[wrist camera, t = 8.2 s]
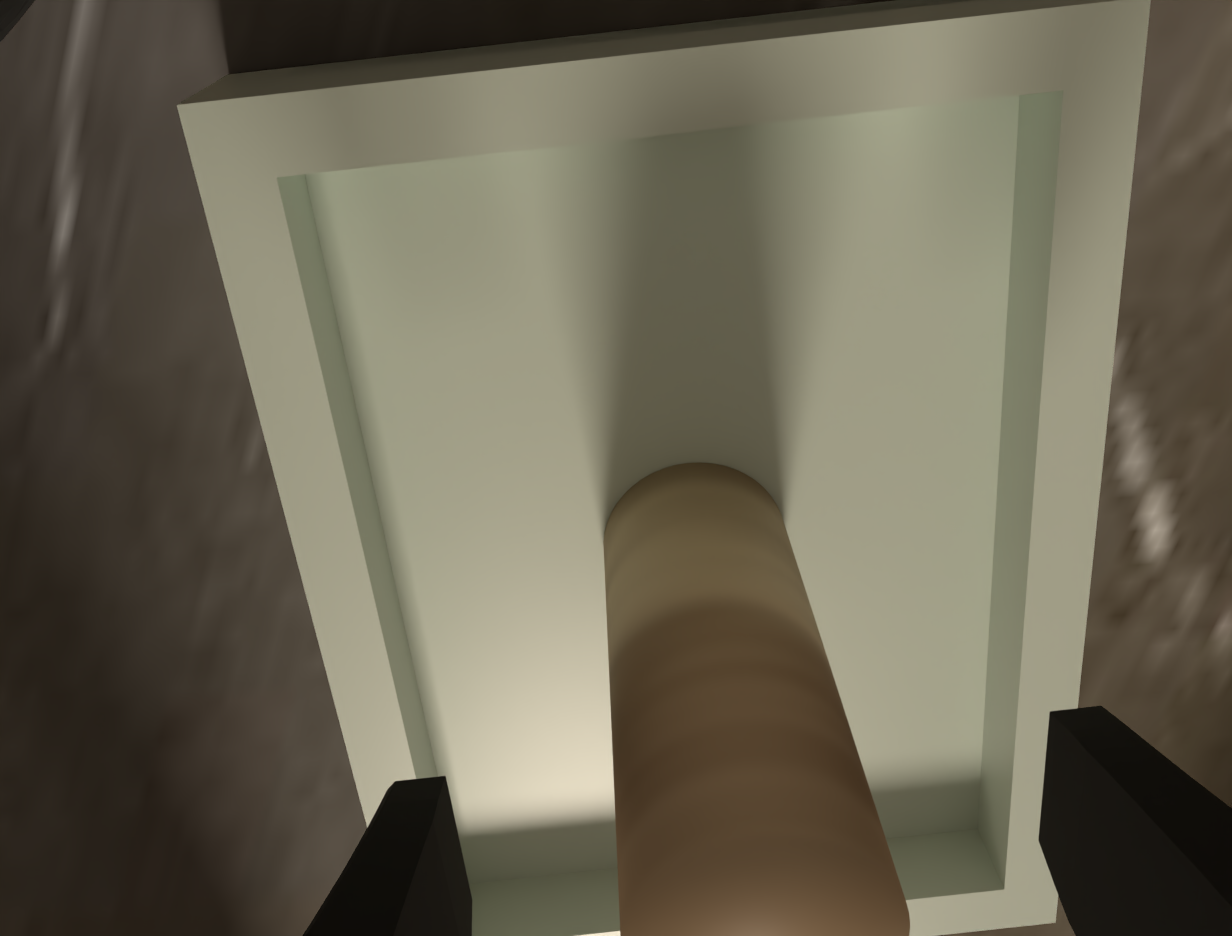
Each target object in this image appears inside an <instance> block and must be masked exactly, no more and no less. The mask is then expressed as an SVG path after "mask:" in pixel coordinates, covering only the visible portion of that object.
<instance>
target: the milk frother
mask: <svg viewBox="0 0 1232 936" xmlns="http://www.w3.org/2000/svg"><path fill="white" fill-rule="evenodd" d="M34 1H35V0H0V42H1V41H2V40H3V38H4V37H5V36H6V35H7V34H8V33H9V31H10V30H11V29H12V28H13V27H14V25H15V24H16V23H17V22H18V21H19V20H20V18H21V17H22V16H23V15H24V13H25V12H26V11H27V10H28V8H29V7H30V6H31V5H32V3H33V2H34Z"/></svg>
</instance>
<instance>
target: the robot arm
mask: <svg viewBox="0 0 1232 936" xmlns="http://www.w3.org/2000/svg"><path fill="white" fill-rule="evenodd" d="M1038 841H1039V843H1040V846H1041V849H1042V852H1043V854H1044V857H1045V860H1046V863H1047V866H1048V868H1049V871H1050V874H1051V877H1052V879H1053V882H1054V885H1055V888H1056V890H1057V893H1058V895H1059V898H1060V900H1061V903H1062V905H1063V908H1064V911H1065V913H1066V916H1067V918H1068V921H1069V923H1070V925H1071V927H1072V929H1073V931H1074V933H1075V935H1076V936H1232V808H1230V807H1229V806H1228V805H1226V804H1225V803H1224V802H1223V801H1221V800H1220V799H1219V798H1217V797H1216V796H1215V795H1213V794H1212V793H1211V792H1209V791H1208V790H1207V789H1206V788H1204V787H1203V786H1202V785H1200V784H1199V783H1198V782H1197V781H1195V780H1194V779H1193V778H1191V777H1190V776H1189V775H1188V774H1186V773H1185V772H1184V771H1183V770H1181V769H1180V768H1179V767H1177V766H1176V765H1175V764H1174V763H1172V762H1171V761H1170V760H1169V759H1167V758H1166V757H1165V756H1164V755H1162V754H1161V753H1160V752H1159V751H1157V750H1156V749H1155V748H1154V747H1152V746H1151V745H1150V744H1149V743H1147V742H1146V741H1145V740H1144V739H1142V738H1141V737H1140V736H1139V735H1137V734H1136V733H1135V732H1134V731H1133V730H1131V729H1130V728H1129V727H1128V726H1126V725H1125V724H1124V723H1123V722H1121V721H1120V720H1119V719H1117V718H1116V717H1115V716H1114V715H1112V714H1111V713H1110V712H1109V711H1107V710H1106V709H1105V708H1103V707H1102V706H1095V707H1086V708H1076V709H1067V710H1057V711H1050V714H1049V725H1048V736H1047V748H1046V759H1045V771H1044V782H1043V793H1042V805H1041V816H1040V828H1039V839H1038ZM303 936H472V896H471V891H470V887H469V882H468V877H467V873H466V868H465V863H464V859H463V854H462V849H461V845H460V840H459V836H458V831H457V826H456V822H455V817H454V812H453V808H452V803H451V798H450V794H449V789H448V785H447V780H446V776H439V777H429V778H420V779H411V780H401V781H395V782H394V783H393V784H392V785H391V786H390V787H389V788H388V789H387V791H386V793H385V795H384V797H383V799H382V801H381V803H380V805H379V807H378V809H377V811H376V812H375V814H374V816H373V818H372V820H371V822H370V824H369V826H368V827H367V829H366V831H365V833H364V835H363V837H362V838H361V840H360V842H359V844H358V846H357V847H356V849H355V851H354V853H353V854H352V856H351V858H350V860H349V861H348V863H347V865H346V867H345V868H344V870H343V872H342V873H341V875H340V877H339V878H338V880H337V882H336V883H335V885H334V886H333V888H332V890H331V891H330V893H329V895H328V896H327V898H326V899H325V901H324V903H323V904H322V906H321V908H320V909H319V911H318V912H317V914H316V916H315V917H314V919H313V921H312V922H311V924H310V925H309V927H308V928H307V930H306V931H305V933H304V934H303Z"/></svg>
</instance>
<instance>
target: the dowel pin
mask: <svg viewBox="0 0 1232 936" xmlns="http://www.w3.org/2000/svg"><path fill="white" fill-rule="evenodd" d="M603 545H604V568H605V591H606V614H607V637H608V660H609V683H610V706H611V729H612V753H613V776H614V799H615V822H616V845H617V868H618V891H619V914H620V936H909V933H910V917H909V911H908V907H907V903H906V900H905V897H904V893H903V890H902V887H901V884H900V881H899V878H898V875H897V872H896V869H895V866H894V862H893V859H892V856H891V853H890V850H889V847H888V844H887V841H886V838H885V835H884V831H883V828H882V825H881V822H880V819H879V816H878V813H877V810H876V807H875V804H874V800H873V797H872V794H871V791H870V788H869V785H868V782H867V779H866V776H865V773H864V770H863V766H862V763H861V760H860V757H859V754H858V751H857V748H856V745H855V742H854V739H853V735H852V732H851V729H850V726H849V723H848V720H847V717H846V714H845V711H844V708H843V704H842V701H841V698H840V695H839V692H838V689H837V686H836V683H835V680H834V677H833V673H832V670H831V667H830V664H829V661H828V658H827V655H826V652H825V649H824V646H823V642H822V639H821V636H820V633H819V630H818V627H817V624H816V621H815V618H814V615H813V611H812V608H811V605H810V602H809V599H808V596H807V593H806V590H805V587H804V584H803V580H802V577H801V574H800V571H799V568H798V565H797V562H796V559H795V556H794V553H793V549H792V546H791V543H790V540H789V537H788V534H787V531H786V528H785V525H784V522H783V518H782V515H781V513H780V511H779V508H778V506H777V504H776V503H775V501H774V499H773V498H772V496H771V495H770V494H769V493H768V492H767V491H766V489H765V488H764V487H763V486H761V485H760V484H759V483H758V482H757V481H756V480H754V479H753V478H751V477H749V476H748V475H746V474H744V473H742V472H740V471H738V470H736V469H733V468H730V467H727V466H724V465H718V464H713V463H701V462H699V463H685V464H679V465H674V466H670V467H667V468H663V469H661V470H659V471H656V472H654V473H652V474H650V475H648V476H646V477H645V478H643V479H641V480H640V481H639V482H637V483H636V484H635V485H633V486H632V487H631V488H630V489H629V490H628V491H627V492H626V493H625V494H624V495H623V496H622V497H621V499H620V500H619V501H618V502H617V504H616V505H615V507H614V509H613V510H612V512H611V514H610V517H609V519H608V521H607V525H606V529H605V532H604V542H603Z"/></svg>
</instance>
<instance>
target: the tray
mask: <svg viewBox="0 0 1232 936" xmlns="http://www.w3.org/2000/svg"><path fill="white" fill-rule="evenodd" d="M1150 3H1151V0H893V1H884V2H875V3H866V4H857V5H848V6H839V7H830V8H821V9H812V10H803V11H794V12H785V13H776V14H767V15H758V16H749V17H740V18H731V19H722V20H713V21H704V22H695V23H686V24H677V25H668V26H659V27H650V28H641V29H632V30H623V31H614V32H605V33H596V34H587V35H578V36H569V37H560V38H551V39H542V40H533V41H525V42H516V43H507V44H498V45H489V46H480V47H471V48H462V49H453V50H444V51H435V52H426V53H417V54H408V55H399V56H390V57H381V58H372V59H363V60H354V61H345V62H336V63H327V64H318V65H309V66H300V67H291V68H282V69H273V70H264V71H255V72H246V73H237V74H228V75H226V76H225V77H223V78H221V79H220V80H218V81H216V82H215V83H213V84H211V85H210V86H208V87H206V88H204V89H203V90H201V91H199V92H198V93H196V94H194V95H193V96H191V97H189V98H188V99H186V100H184V101H183V102H181V103H179V104H177V108H178V112H179V116H180V120H181V123H182V127H183V131H184V135H185V139H186V142H187V146H188V150H189V154H190V157H191V161H192V165H193V169H194V173H195V176H196V180H197V184H198V188H199V192H200V195H201V199H202V203H203V207H204V211H205V214H206V218H207V222H208V226H209V229H210V233H211V237H212V241H213V245H214V248H215V252H216V256H217V260H218V264H219V267H220V271H221V275H222V279H223V283H224V286H225V290H226V294H227V298H228V301H229V305H230V309H231V313H232V317H233V320H234V324H235V328H236V332H237V336H238V339H239V343H240V347H241V351H242V355H243V358H244V362H245V366H246V370H247V373H248V377H249V381H250V385H251V389H252V392H253V396H254V400H255V404H256V408H257V411H258V415H259V419H260V423H261V427H262V430H263V434H264V438H265V442H266V446H267V449H268V453H269V457H270V461H271V464H272V468H273V472H274V476H275V480H276V483H277V487H278V491H279V495H280V499H281V502H282V506H283V510H284V514H285V518H286V521H287V525H288V529H289V533H290V536H291V540H292V544H293V548H294V552H295V555H296V559H297V563H298V567H299V571H300V574H301V578H302V582H303V586H304V590H305V593H306V597H307V601H308V605H309V608H310V612H311V616H312V620H313V624H314V627H315V631H316V635H317V639H318V643H319V646H320V650H321V654H322V658H323V662H324V665H325V669H326V673H327V677H328V680H329V684H330V688H331V692H332V696H333V699H334V703H335V707H336V711H337V715H338V718H339V722H340V726H341V730H342V734H343V737H344V741H345V745H346V749H347V752H348V756H349V760H350V764H351V768H352V771H353V775H354V779H355V783H356V787H357V790H358V794H359V798H360V802H361V806H362V809H363V813H364V817H365V821H366V824H367V827H368V826H369V824H370V822H371V820H372V818H373V816H374V814H375V812H376V811H377V809H378V807H379V805H380V803H381V801H382V799H383V797H384V795H385V793H386V791H387V789H388V788H389V787H390V786H391V785H392V784H393V783H394V782H395V781H401V780H411V779H420V778H429V777H439V776H446V780H447V785H448V789H449V794H450V798H451V803H452V808H453V812H454V817H455V822H456V826H457V831H458V836H459V840H460V845H461V849H462V854H463V859H464V863H465V868H466V873H467V877H468V882H469V887H470V891H471V896H472V936H620V914H619V891H618V868H617V845H616V822H615V799H614V776H613V753H612V729H611V706H610V683H609V660H608V637H607V614H606V591H605V568H604V545H603V542H604V532H605V529H606V525H607V521H608V519H609V517H610V514H611V512H612V510H613V509H614V507H615V505H616V504H617V502H618V501H619V500H620V499H621V497H622V496H623V495H624V494H625V493H626V492H627V491H628V490H629V489H630V488H631V487H632V486H633V485H635V484H636V483H637V482H639V481H640V480H641V479H643V478H645V477H646V476H648V475H650V474H652V473H654V472H656V471H659V470H661V469H663V468H667V467H670V466H674V465H679V464H685V463H699V462H701V463H713V464H718V465H724V466H727V467H730V468H733V469H736V470H738V471H740V472H742V473H744V474H746V475H748V476H749V477H751V478H753V479H754V480H756V481H757V482H758V483H759V484H760V485H761V486H763V487H764V488H765V489H766V491H767V492H768V493H769V494H770V495H771V496H772V498H773V499H774V501H775V503H776V504H777V506H778V508H779V511H780V513H781V515H782V518H783V522H784V525H785V528H786V531H787V534H788V537H789V540H790V543H791V546H792V549H793V553H794V556H795V559H796V562H797V565H798V568H799V571H800V574H801V577H802V580H803V584H804V587H805V590H806V593H807V596H808V599H809V602H810V605H811V608H812V611H813V615H814V618H815V621H816V624H817V627H818V630H819V633H820V636H821V639H822V642H823V646H824V649H825V652H826V655H827V658H828V661H829V664H830V667H831V670H832V673H833V677H834V680H835V683H836V686H837V689H838V692H839V695H840V698H841V701H842V704H843V708H844V711H845V714H846V717H847V720H848V723H849V726H850V729H851V732H852V735H853V739H854V742H855V745H856V748H857V751H858V754H859V757H860V760H861V763H862V766H863V770H864V773H865V776H866V779H867V782H868V785H869V788H870V791H871V794H872V797H873V800H874V804H875V807H876V810H877V813H878V816H879V819H880V822H881V825H882V828H883V831H884V835H885V838H886V841H887V844H888V847H889V850H890V853H891V856H892V859H893V862H894V866H895V869H896V872H897V875H898V878H899V881H900V884H901V887H902V890H903V893H904V897H905V900H906V903H907V907H908V911H909V917H910V933H909V936H936V935H945V934H955V933H964V932H973V931H983V930H992V929H1001V928H1011V927H1020V926H1029V925H1039V924H1048V923H1055V922H1056V912H1057V902H1058V893H1057V890H1056V888H1055V885H1054V882H1053V879H1052V877H1051V874H1050V871H1049V868H1048V866H1047V863H1046V860H1045V857H1044V854H1043V852H1042V849H1041V846H1040V843H1039V841H1038V839H1039V828H1040V816H1041V805H1042V793H1043V782H1044V771H1045V759H1046V748H1047V736H1048V725H1049V714H1050V711H1057V710H1067V709H1076V708H1078V699H1079V689H1080V680H1081V670H1082V660H1083V651H1084V641H1085V631H1086V622H1087V612H1088V602H1089V593H1090V583H1091V573H1092V564H1093V554H1094V544H1095V535H1096V525H1097V515H1098V506H1099V496H1100V486H1101V477H1102V467H1103V457H1104V448H1105V438H1106V428H1107V419H1108V409H1109V399H1110V390H1111V380H1112V370H1113V361H1114V351H1115V341H1116V332H1117V322H1118V312H1119V303H1120V293H1121V283H1122V274H1123V264H1124V254H1125V245H1126V235H1127V225H1128V216H1129V206H1130V196H1131V187H1132V177H1133V167H1134V158H1135V148H1136V138H1137V129H1138V119H1139V109H1140V99H1141V90H1142V80H1143V70H1144V61H1145V51H1146V41H1147V32H1148V22H1149V12H1150Z"/></svg>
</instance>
